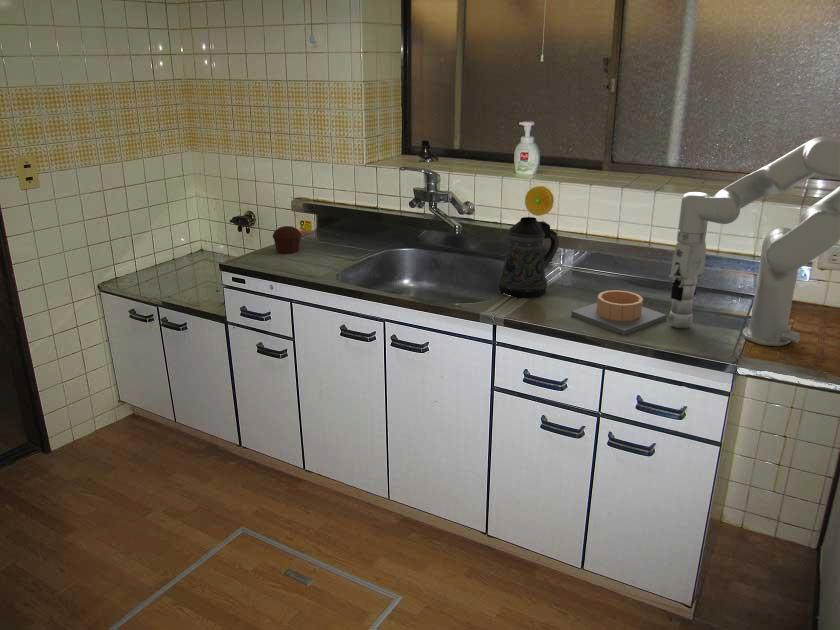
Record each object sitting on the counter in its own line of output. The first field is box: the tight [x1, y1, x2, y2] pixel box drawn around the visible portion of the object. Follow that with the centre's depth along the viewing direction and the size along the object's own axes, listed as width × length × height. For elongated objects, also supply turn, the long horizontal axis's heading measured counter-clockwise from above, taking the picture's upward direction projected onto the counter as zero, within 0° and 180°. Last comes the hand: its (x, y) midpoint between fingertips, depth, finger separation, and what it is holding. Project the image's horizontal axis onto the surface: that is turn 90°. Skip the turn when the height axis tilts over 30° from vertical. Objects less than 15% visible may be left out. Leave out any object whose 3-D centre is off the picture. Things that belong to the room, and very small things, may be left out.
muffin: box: [272, 225, 303, 255], centre depth 288 cm, size 12×11×10 cm
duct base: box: [571, 289, 667, 336], centre depth 217 cm, size 20×20×6 cm
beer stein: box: [497, 216, 560, 299], centre depth 238 cm, size 16×19×25 cm
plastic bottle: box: [668, 274, 698, 329], centre depth 207 cm, size 6×7×20 cm
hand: (683, 296), depth 207 cm, fingers closed on plastic bottle, 6 cm apart
